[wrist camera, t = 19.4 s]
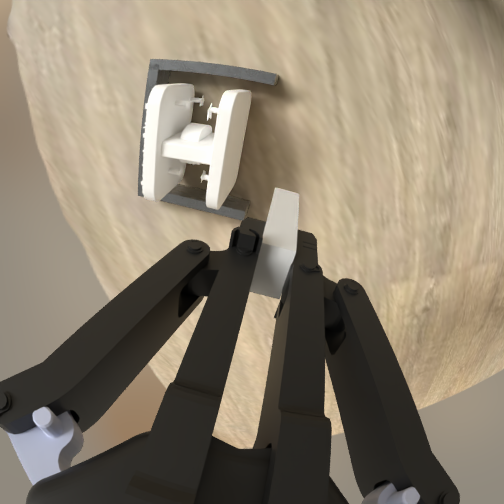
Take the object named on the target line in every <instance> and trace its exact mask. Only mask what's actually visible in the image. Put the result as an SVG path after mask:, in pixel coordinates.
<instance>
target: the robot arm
mask: <svg viewBox="0 0 504 504" xmlns="http://www.w3.org/2000/svg"><path fill="white" fill-rule="evenodd" d="M298 211H299V194H298V193H295V192H291V191H287V190H284V189H280V188H276V187H275V191H274V195H273V198H272V202H271V206H270V210H269V214H268V217H267V221H266V222H265V221H261V220H257V219H253V218H249V217H248V218H246V219H244V220H243V221H242V223H241V225H240V227H236V228H234V229H233V230H232V233H231V238H230V244H229V248H228V249H227V250H224V251H210V247H209V246H208V245H207V244H206V243H204V242H203V241H199V240H186V241H184V242H182V243H181V244H179V245H178V246H177V247H176V248H174V249H173V250H172V251H170V252H169V253H168V254H167V255H165V256H164V257H163V258H162V259H161V260H159V261H158V262H157V263H156V264H154V265H153V266H152V267H151V268H149V269H148V270H147V271H146V272H145V273H143V274H142V275H141V276H140V277H139V278H137V279H136V280H135V281H134V282H133V283H131V284H130V285H129V286H128V287H127V288H125V289H124V290H123V291H122V292H121V293H119V294H118V295H117V296H116V297H115V298H114V299H112V300H111V301H110V302H109V303H108V304H107V305H105V307H103V308H102V309H101V310H100V311H99V312H98V313H96V314H95V315H94V316H93V317H92V318H91V319H89V320H88V321H87V322H86V323H85V324H84V325H83V326H82V327H80V328H79V329H78V330H77V331H76V332H75V333H74V334H73V335H72V336H71V337H69V339H67V340H66V341H65V342H64V343H63V344H62V345H61V346H60V347H59V348H58V349H56V350H55V351H54V352H53V353H52V354H51V355H50V356H49V357H48V358H47V359H46V360H45V361H44V362H42V363H40V364H38V365H36V366H34V367H31V368H29V369H27V370H25V371H23V372H21V373H19V374H16V375H14V376H12V377H10V378H8V379H6V380H3V381H1V382H0V427H1V428H3V429H4V430H5V431H6V432H7V433H8V435H9V437H10V440H11V442H12V444H13V447H14V449H15V451H16V453H17V455H18V458H19V460H20V462H21V464H22V465H23V468H24V470H25V472H26V474H27V475H28V477H29V479H30V481H31V482H32V485H33V487H32V488H31V490H30V491H29V493H28V496H27V500H26V504H349V503H348V502H347V500H346V499H345V497H344V496H343V495H342V493H341V492H340V490H339V489H338V487H337V486H336V485H335V483H334V482H333V480H332V479H331V477H330V476H329V472H330V455H331V432H332V428H331V421H330V419H329V418H327V417H325V415H324V397H325V359H326V363H327V366H328V370H329V374H330V378H331V381H332V385H333V389H334V393H335V397H336V400H337V404H338V408H339V412H340V416H341V420H342V424H343V428H344V433H345V437H346V441H347V445H348V449H349V454H350V458H351V463H352V467H353V471H354V475H355V478H356V482H357V484H358V487H359V489H360V492H361V494H362V496H363V497H364V500H363V502H362V504H459V502H460V495H459V492H458V490H457V488H456V486H455V485H454V483H453V482H452V480H451V479H450V477H449V476H448V475H447V473H446V472H445V470H444V469H443V467H442V466H441V464H440V463H439V461H438V460H437V459H436V457H435V456H434V454H433V453H432V451H431V448H430V445H429V442H428V440H427V436H426V434H425V431H424V428H423V425H422V422H421V419H420V416H419V414H418V411H417V408H416V406H415V403H414V400H413V398H412V395H411V393H410V390H409V388H408V385H407V383H406V380H405V378H404V375H403V373H402V370H401V368H400V366H399V363H398V361H397V359H396V356H395V354H394V352H393V349H392V347H391V345H390V343H389V340H388V338H387V336H386V334H385V331H384V329H383V327H382V325H381V323H380V321H379V319H378V316H377V314H376V312H375V310H374V308H373V306H372V304H371V302H370V300H369V298H368V296H367V294H366V292H365V290H364V288H363V287H362V286H361V285H360V284H359V283H358V282H356V281H354V280H352V279H347V278H345V279H341V280H339V281H338V284H337V283H335V282H333V281H331V280H329V279H327V278H326V277H325V276H323V271H322V268H321V267H320V266H319V265H318V256H317V239H316V238H315V236H314V235H313V234H312V233H308V232H305V231H301V230H298ZM249 292H253V293H257V294H261V295H265V296H269V297H273V298H277V299H280V296H281V300H280V303H279V305H278V308H277V311H276V313H275V316H274V318H276V324H275V331H274V337H273V344H272V350H271V357H270V363H269V369H268V375H267V381H266V387H265V393H264V399H263V405H262V411H261V416H260V422H259V427H258V433H257V437H256V441H255V443H254V446H253V449H238V448H236V447H234V446H231V445H229V444H227V443H225V442H223V441H221V440H219V439H217V438H215V437H213V436H212V433H213V430H214V426H215V422H216V418H217V415H218V411H219V407H220V403H221V399H222V395H223V391H224V388H225V384H226V380H227V376H228V372H229V368H230V365H231V361H232V357H233V353H234V349H235V345H236V342H237V338H238V334H239V330H240V326H241V322H242V318H243V315H244V311H245V307H246V303H247V299H248V295H249ZM281 294H282V295H281ZM204 296H208V298H207V301H206V303H205V305H204V308H203V310H202V313H201V315H200V318H199V320H198V323H197V325H196V328H195V330H194V333H193V335H192V337H191V340H190V342H189V345H188V347H187V350H186V353H185V355H184V358H183V360H182V363H181V365H180V368H179V370H178V373H177V375H176V378H175V380H174V382H172V383H170V385H169V386H168V388H167V390H166V392H165V395H164V398H163V400H162V403H161V405H160V408H159V410H158V413H157V415H156V418H155V421H154V423H153V426H152V428H151V431H149V432H145V433H141V434H139V435H136V436H134V437H132V438H130V439H128V440H126V441H124V442H123V443H121V444H119V445H117V446H115V447H113V448H111V449H109V450H107V451H105V452H103V453H101V454H99V455H97V456H94V457H92V458H90V459H88V460H86V461H84V462H82V463H79V464H77V465H75V466H73V467H70V465H71V461H72V459H73V457H75V456H76V454H77V453H79V452H80V451H81V449H82V447H83V442H84V439H83V434H82V433H83V432H85V431H86V430H87V429H89V428H90V427H91V426H92V425H94V424H95V423H96V422H97V421H98V420H99V419H100V418H101V417H102V416H103V415H104V413H105V412H106V411H107V410H108V409H109V408H110V407H111V405H112V404H113V403H114V402H115V401H116V399H117V398H118V397H119V396H120V395H121V394H122V392H123V391H124V390H125V389H126V387H128V386H129V384H130V383H131V382H132V381H133V380H134V378H135V377H136V376H137V375H138V374H139V373H140V372H141V370H142V369H143V368H144V367H145V366H146V365H147V363H148V362H149V361H150V360H151V359H152V358H153V356H154V355H155V354H156V353H157V352H158V351H159V350H160V348H161V347H162V346H163V345H164V344H165V343H166V341H167V340H168V339H169V338H170V337H171V336H172V334H173V333H174V332H175V331H176V330H177V329H178V328H179V326H180V325H181V324H182V323H183V322H184V321H185V319H186V318H187V317H188V316H189V315H190V314H191V313H192V311H193V310H194V309H195V308H196V307H197V306H198V304H199V303H200V302H201V301H202V300H203V298H204Z"/></svg>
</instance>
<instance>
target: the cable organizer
mask: <svg viewBox="0 0 504 504" xmlns="http://www.w3.org/2000/svg"><path fill="white" fill-rule="evenodd" d="M194 96H195V91H194V86H193V85H192V84H184V83H177V84H163V85H156V86H154V88H153V89H152V91H151V93H150V95H149V99H148V103H145V109H147V111H146V122H145V123H144V124H145V127H143V128H145V133H143V138H145V139H144V150H143V152H144V154H143V164H142V166H143V176H142V177H143V180H142V181H141V185H143V186H142V189H143V190H142V193H143V195H144V198H145V199H146V200H150V201H155V202H159V201H160V200H161V199H162V198H163V197H164V196H165V195H166V194H168V193H169V192H170V191H171V190H172V189H173V188H174V187H175V186H176V185H177V184H178V183H180V182H181V180H182V178H183V176H184V173H185V169H186V163H190V164H193V165H194V164H197V165H200V164H201V163H202V164H207V165H210V169H209V175H206V172H204V171H203V174H202V176H201V182H202V180H208V184H207V192H206V206H207V207H208V208H213V209H217V210H219V209H220V207H221V206H222V204H223V202H224V201H225V199H226V198H227V196H228V194H229V193H230V191H231V190H232V188H233V187H234V185H235V182H236V179H237V175H238V170H239V164H240V159H241V153H242V147H243V142H244V137H245V131H246V126H247V121H248V115H249V110H250V105H251V91H248V90H242V89H237V90H227V91H225V92H224V94H223V96H222V98H221V101H220V104H219V108H216V107H212V103H211V105H210V107H209V109H208V114H207V121H208V119H209V117H210V119H211V115H212V113H218V114H217V121H216V127H215V133H212V127H211V126H210V125H205V124H198V123H191V118H192V111H193V104H194V102H195V103H200V106H201V105H202V106H203V102H204V100H205V99H203V97H202V98H194ZM192 167H193V166H192Z"/></svg>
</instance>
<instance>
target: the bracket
mask: <svg viewBox="0 0 504 504" xmlns="http://www.w3.org/2000/svg"><path fill="white" fill-rule="evenodd" d="M171 70H173V71H185V72H195V73H204V74H212V75H220V76H227V77H233V78H239V79H245V80H251V81H256V82H261V83H266V84H271V85H277V81H278V76H279V75H277V74H273V73H269V72H264V71H258V70H253V69H247V68H241V67H235V66H228V65H221V64H213V63H204V62H194V61H181V60H163V59H150V65H149V71H148V78H147V85H146V92H145V100H144V109H143V118H142V129H141V141H140V156H139V176H138V196H142V197H144V195H143V193H142V190H143V189H142V186H143V185H141V181H142V180H143V177H142V176H143V166H142V164H143V154H144V152H143V150H144V139H145V138H143V133H145V128H143V127H145V124H144V123H145V122H146V111H147V109H145V103H148V99H149V95H150V93H151V91H152V89H153V88H154V86H156V85H163V84H168V83H169V77H170V71H171ZM206 192H207V190H203V189H198V188H194V187H189V186H185V185H180V184H177V185H176V186H175V187H174V188H173V189H172V190H171V191H170V192H169V193H168V194H166V195H165V196H164V197H163V198H162V199H161V200H160V201H164V202H168V203H173V204H177V205H181V206H185V207H189V208H193V209H198V210H202V211H206V212H210V213H214V214H218V215H222V216H226V217H230V218H234V219H238V220H242V221H243V220H244V218H245V216H246V213H247V211H248V208H249V203H250V201H248V200H244V199H240V198H236V197H232V196H227V198H226V199H225V201H224V202H223V204H222V206H221V207H220V209H219V210H217V209H213V208H208V207H207V206H206Z"/></svg>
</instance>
